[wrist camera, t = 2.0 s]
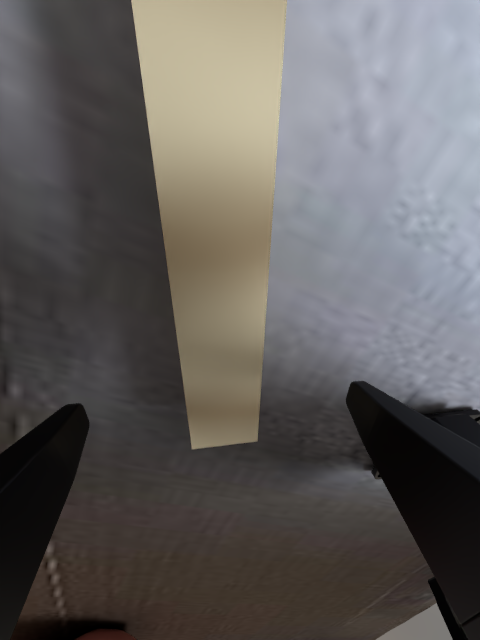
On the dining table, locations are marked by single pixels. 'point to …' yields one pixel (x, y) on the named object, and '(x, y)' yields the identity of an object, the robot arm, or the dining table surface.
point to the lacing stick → (215, 192)
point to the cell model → (106, 635)
